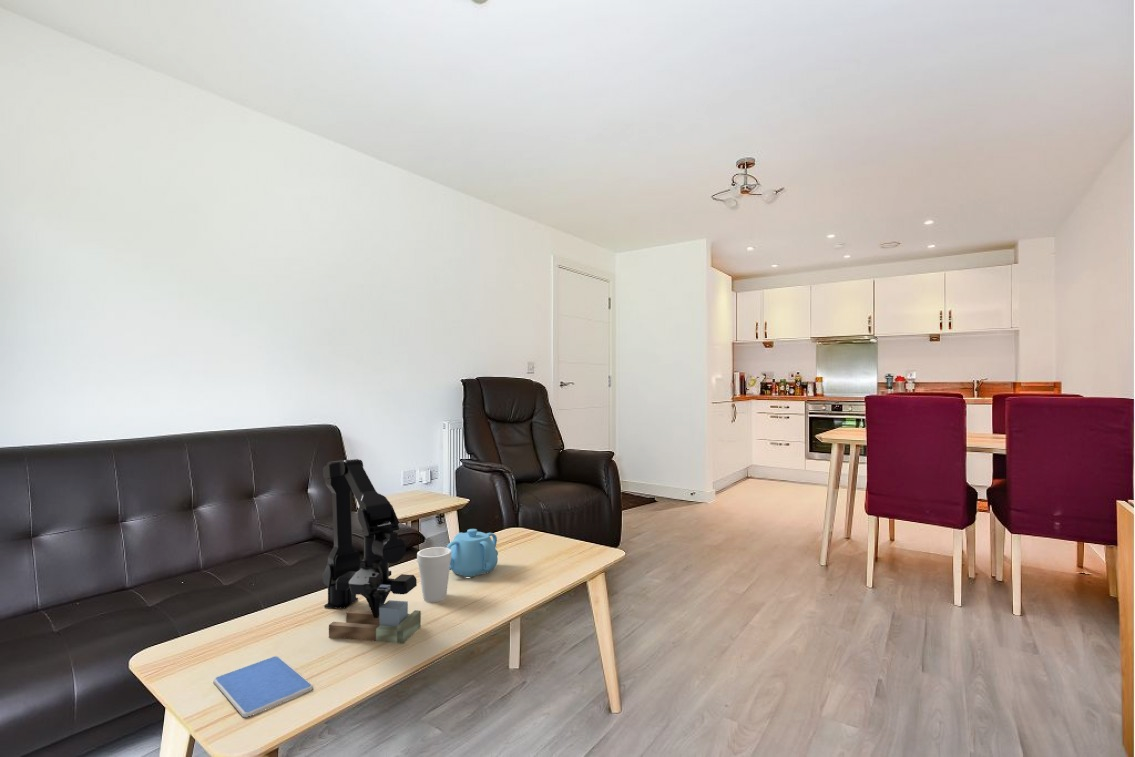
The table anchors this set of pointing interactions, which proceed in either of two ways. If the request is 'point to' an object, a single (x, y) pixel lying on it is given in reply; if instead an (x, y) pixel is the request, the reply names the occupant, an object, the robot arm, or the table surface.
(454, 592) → the table surface
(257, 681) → the tablet computer
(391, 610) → the block
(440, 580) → the foam cup
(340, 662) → the table surface
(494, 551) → the decorative pot
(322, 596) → the table surface
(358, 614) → the u-shaped frame
